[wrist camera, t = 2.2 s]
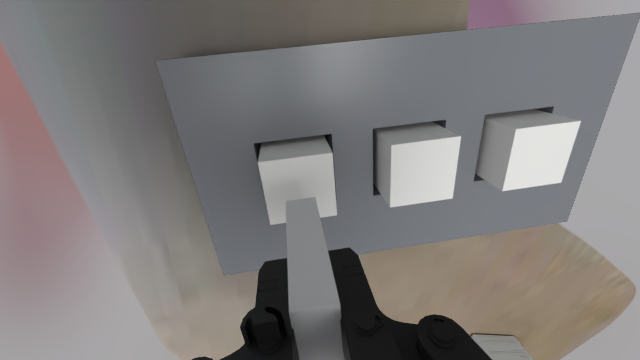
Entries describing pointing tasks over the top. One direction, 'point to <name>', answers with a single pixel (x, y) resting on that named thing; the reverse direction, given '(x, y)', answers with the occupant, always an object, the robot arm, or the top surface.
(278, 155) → the button
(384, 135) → the button
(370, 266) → the top surface
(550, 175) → the button
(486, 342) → the supplement box
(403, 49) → the console
